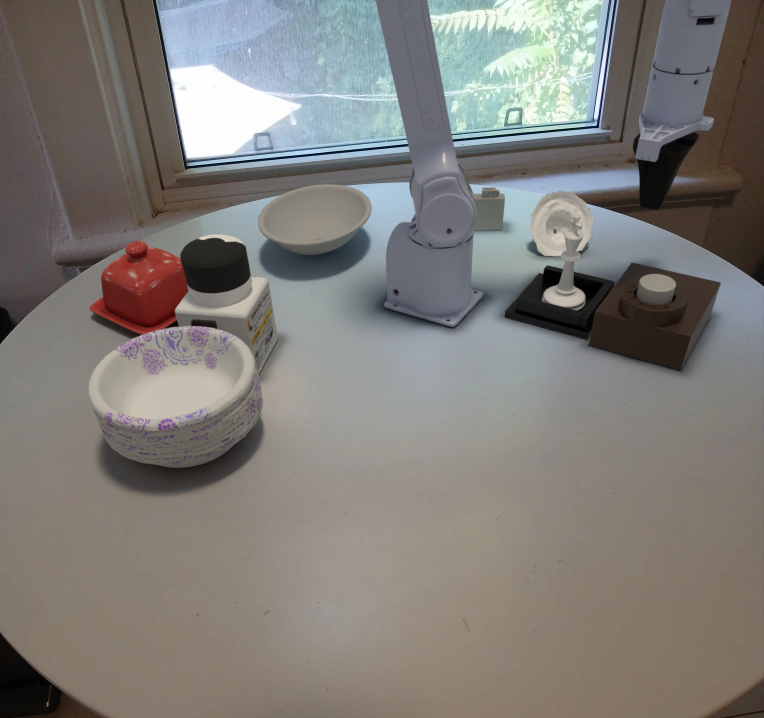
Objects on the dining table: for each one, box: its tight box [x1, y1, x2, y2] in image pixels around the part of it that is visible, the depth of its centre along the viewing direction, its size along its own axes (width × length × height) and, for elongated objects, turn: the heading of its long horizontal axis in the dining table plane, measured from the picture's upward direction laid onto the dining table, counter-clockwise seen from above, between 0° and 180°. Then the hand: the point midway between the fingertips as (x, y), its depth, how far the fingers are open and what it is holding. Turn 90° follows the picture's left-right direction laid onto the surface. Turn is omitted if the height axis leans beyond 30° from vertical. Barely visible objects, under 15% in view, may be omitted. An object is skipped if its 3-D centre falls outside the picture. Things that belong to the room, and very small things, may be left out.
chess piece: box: [542, 216, 585, 310], centre depth 81 cm, size 5×5×10 cm
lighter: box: [465, 174, 506, 231], centre depth 98 cm, size 7×2×8 cm, turn 86°
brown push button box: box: [588, 262, 722, 371], centre depth 79 cm, size 10×12×6 cm
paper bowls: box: [87, 326, 264, 469], centre depth 69 cm, size 15×15×8 cm
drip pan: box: [504, 264, 616, 340], centre depth 85 cm, size 10×10×2 cm
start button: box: [636, 274, 676, 305], centre depth 75 cm, size 4×4×2 cm
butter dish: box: [88, 240, 189, 336], centre depth 86 cm, size 12×12×8 cm
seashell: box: [529, 190, 595, 257], centre depth 95 cm, size 8×5×8 cm
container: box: [175, 233, 279, 375], centre depth 77 cm, size 8×8×13 cm
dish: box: [257, 183, 373, 256], centre depth 96 cm, size 18×14×5 cm
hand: (650, 206), depth 80 cm, fingers closed
